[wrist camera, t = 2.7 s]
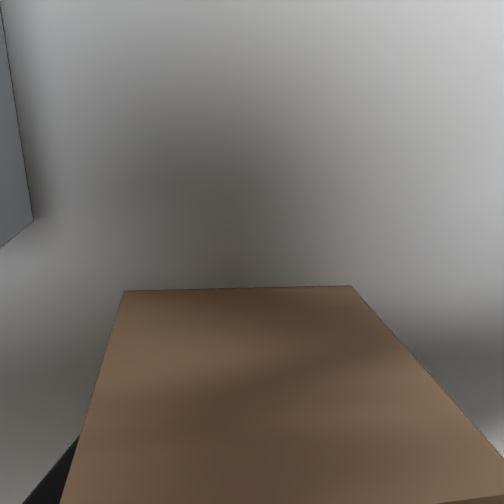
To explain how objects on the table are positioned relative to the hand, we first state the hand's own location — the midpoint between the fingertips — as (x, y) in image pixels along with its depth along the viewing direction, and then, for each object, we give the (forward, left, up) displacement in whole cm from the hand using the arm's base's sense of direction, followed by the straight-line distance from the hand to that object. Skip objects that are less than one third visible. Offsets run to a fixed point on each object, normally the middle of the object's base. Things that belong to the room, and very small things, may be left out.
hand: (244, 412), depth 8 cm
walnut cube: (0, 0, -1) cm, 1 cm away
